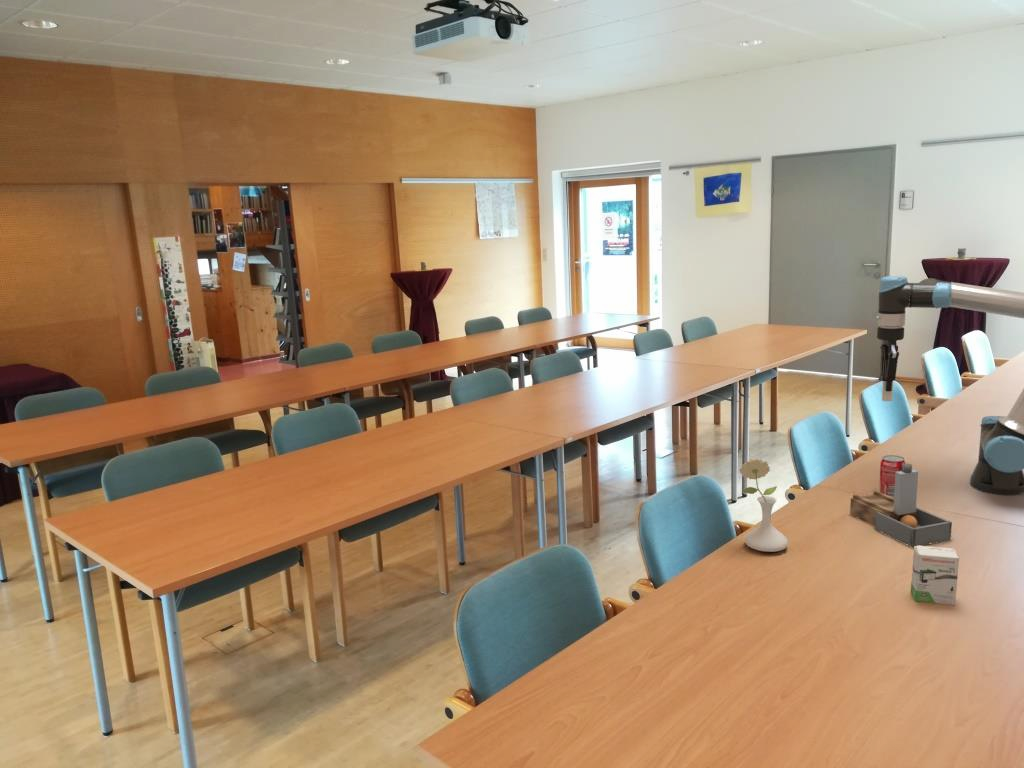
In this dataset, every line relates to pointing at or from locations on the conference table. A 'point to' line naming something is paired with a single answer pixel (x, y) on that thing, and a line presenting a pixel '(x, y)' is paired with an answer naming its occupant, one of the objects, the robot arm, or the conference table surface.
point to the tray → (924, 533)
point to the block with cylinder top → (905, 490)
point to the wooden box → (874, 507)
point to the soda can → (889, 473)
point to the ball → (909, 521)
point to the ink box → (934, 575)
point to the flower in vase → (765, 534)
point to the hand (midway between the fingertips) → (886, 400)
